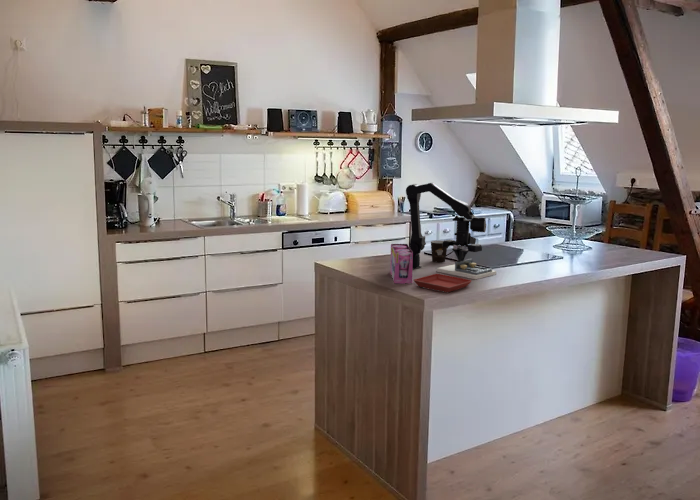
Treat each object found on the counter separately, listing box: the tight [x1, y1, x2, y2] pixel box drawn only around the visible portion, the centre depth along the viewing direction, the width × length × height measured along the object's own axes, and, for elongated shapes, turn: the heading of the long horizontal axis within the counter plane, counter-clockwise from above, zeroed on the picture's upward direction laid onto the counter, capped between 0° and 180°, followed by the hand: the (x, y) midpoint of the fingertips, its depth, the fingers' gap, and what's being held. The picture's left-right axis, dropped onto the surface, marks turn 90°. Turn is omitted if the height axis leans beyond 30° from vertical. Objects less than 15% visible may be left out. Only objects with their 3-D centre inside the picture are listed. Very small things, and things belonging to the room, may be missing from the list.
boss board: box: [436, 262, 497, 280], centre depth 289 cm, size 16×22×4 cm
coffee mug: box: [430, 239, 455, 264], centre depth 314 cm, size 12×9×10 cm
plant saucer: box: [413, 273, 473, 293], centre depth 262 cm, size 18×18×3 cm
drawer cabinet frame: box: [454, 258, 493, 275], centre depth 286 cm, size 12×12×4 cm
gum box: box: [389, 243, 413, 284], centre depth 276 cm, size 24×8×14 cm, turn 1°
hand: (460, 263), depth 292 cm, fingers closed
